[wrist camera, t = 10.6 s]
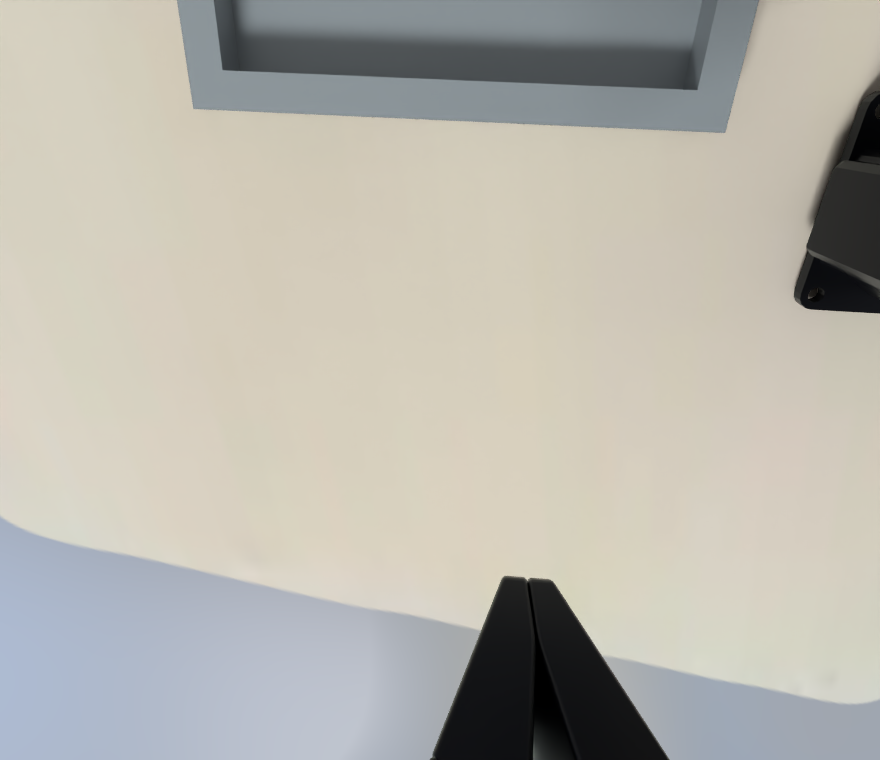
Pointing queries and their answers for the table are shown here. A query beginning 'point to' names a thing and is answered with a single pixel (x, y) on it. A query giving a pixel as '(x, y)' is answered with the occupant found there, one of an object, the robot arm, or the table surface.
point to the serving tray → (473, 59)
